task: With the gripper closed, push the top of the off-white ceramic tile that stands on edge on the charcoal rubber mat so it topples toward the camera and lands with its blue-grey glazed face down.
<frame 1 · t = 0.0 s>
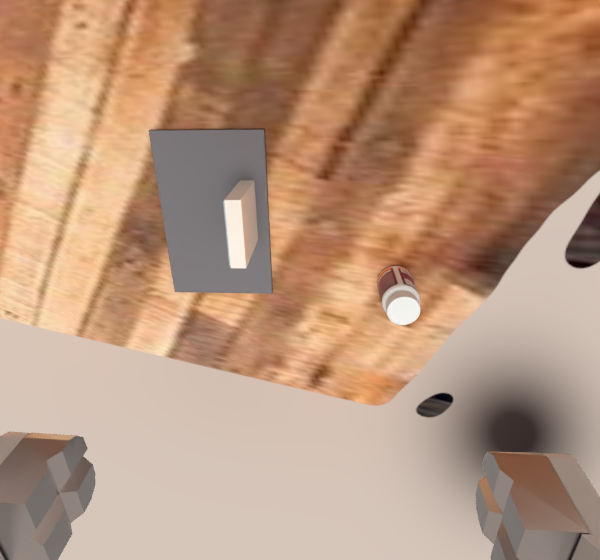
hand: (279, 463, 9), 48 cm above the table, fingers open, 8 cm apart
mat: (216, 217, 57), on the table
tile: (248, 211, 56), point 1 cm above the table, touching mat
pill bottle: (394, 280, 60), on the table
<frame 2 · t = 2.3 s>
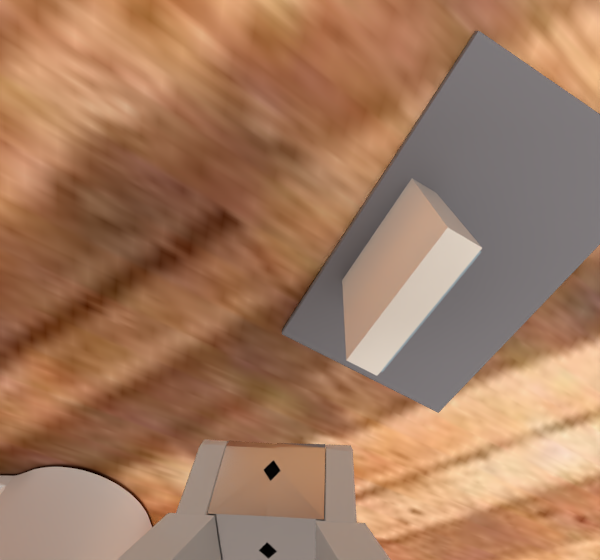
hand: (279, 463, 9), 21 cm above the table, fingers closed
mat: (452, 256, 29), on the table
tile: (387, 239, 28), point 1 cm above the table, touching mat
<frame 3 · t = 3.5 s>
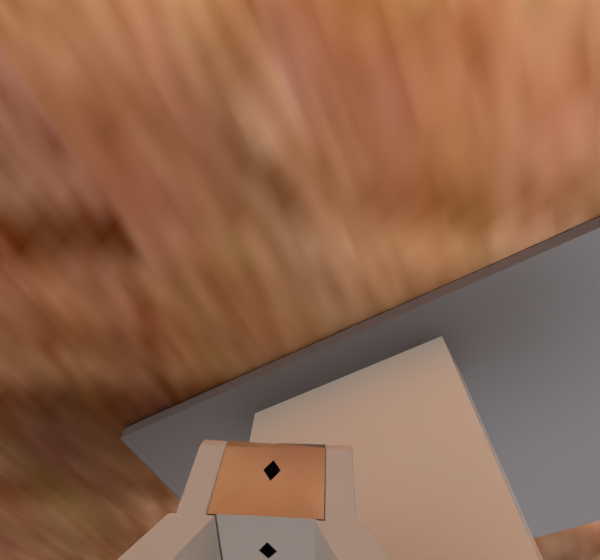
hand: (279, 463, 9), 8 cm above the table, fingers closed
mat: (421, 448, 19), on the table
tile: (354, 395, 17), point 1 cm above the table, touching mat
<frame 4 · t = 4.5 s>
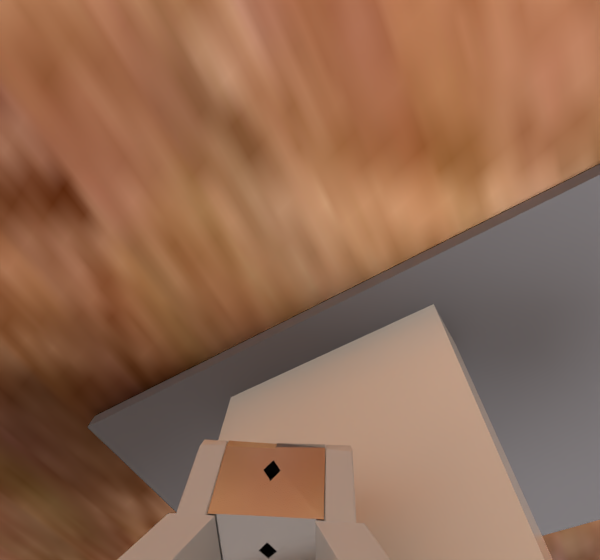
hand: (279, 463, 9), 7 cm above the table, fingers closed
mat: (417, 435, 17), on the table
tile: (338, 374, 15), point 1 cm above the table, touching gripper, mat
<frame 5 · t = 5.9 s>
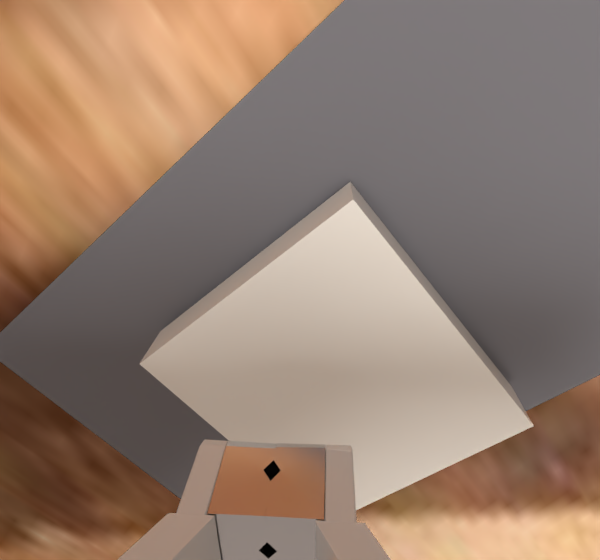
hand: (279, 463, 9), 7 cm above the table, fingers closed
mat: (341, 310, 15), on the table
tile: (241, 274, 13), point 2 cm above the table, tilted 90°, touching mat
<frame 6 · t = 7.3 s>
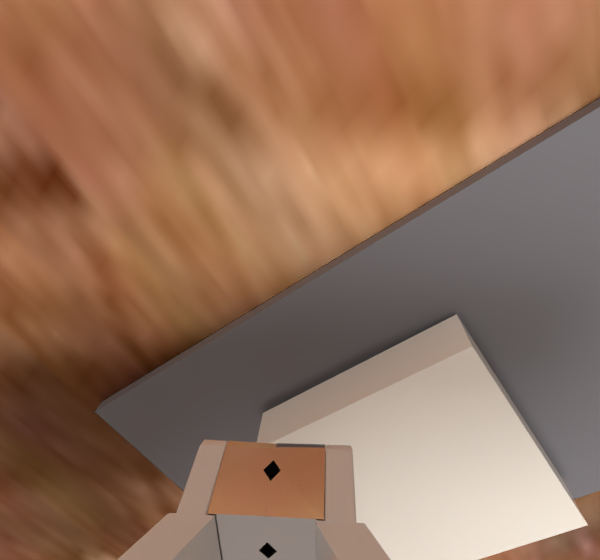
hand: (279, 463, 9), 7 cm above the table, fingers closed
mat: (421, 404, 17), on the table
tile: (352, 382, 15), point 2 cm above the table, tilted 90°, touching mat
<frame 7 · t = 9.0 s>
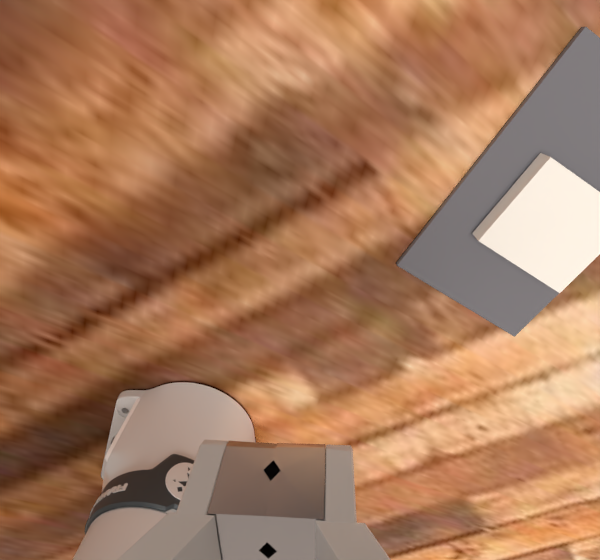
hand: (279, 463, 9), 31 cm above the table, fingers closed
mat: (541, 204, 37), on the table
tile: (508, 197, 35), point 2 cm above the table, tilted 90°, touching mat
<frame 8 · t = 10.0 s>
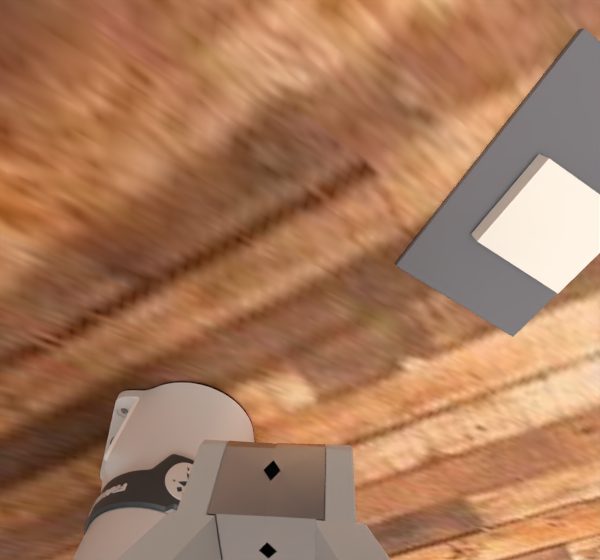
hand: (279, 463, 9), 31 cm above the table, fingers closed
mat: (539, 204, 37), on the table
tile: (506, 198, 35), point 2 cm above the table, tilted 90°, touching mat
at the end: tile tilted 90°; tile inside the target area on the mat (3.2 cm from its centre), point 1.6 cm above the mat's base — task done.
